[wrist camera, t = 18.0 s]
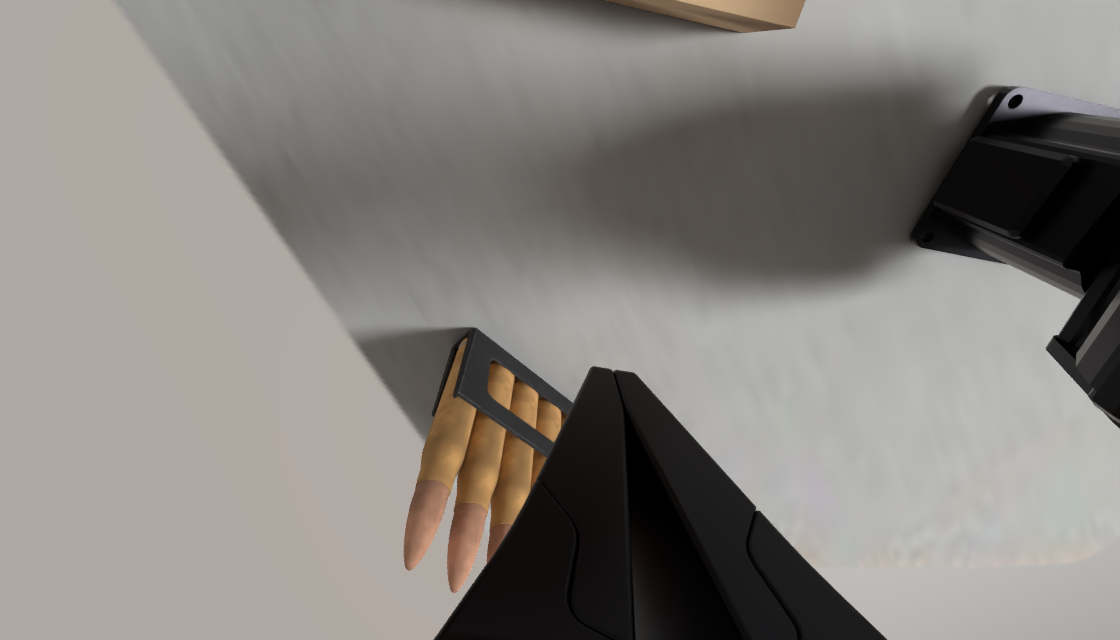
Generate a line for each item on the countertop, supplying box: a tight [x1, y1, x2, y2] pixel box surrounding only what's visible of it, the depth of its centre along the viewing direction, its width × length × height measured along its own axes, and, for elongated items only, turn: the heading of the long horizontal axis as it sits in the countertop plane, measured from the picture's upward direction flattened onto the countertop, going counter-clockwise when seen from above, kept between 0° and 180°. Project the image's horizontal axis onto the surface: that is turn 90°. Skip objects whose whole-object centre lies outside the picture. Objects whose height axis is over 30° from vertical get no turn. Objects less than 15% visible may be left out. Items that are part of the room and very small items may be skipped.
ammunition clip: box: [404, 328, 573, 593], centre depth 20 cm, size 11×2×12 cm, turn 45°
